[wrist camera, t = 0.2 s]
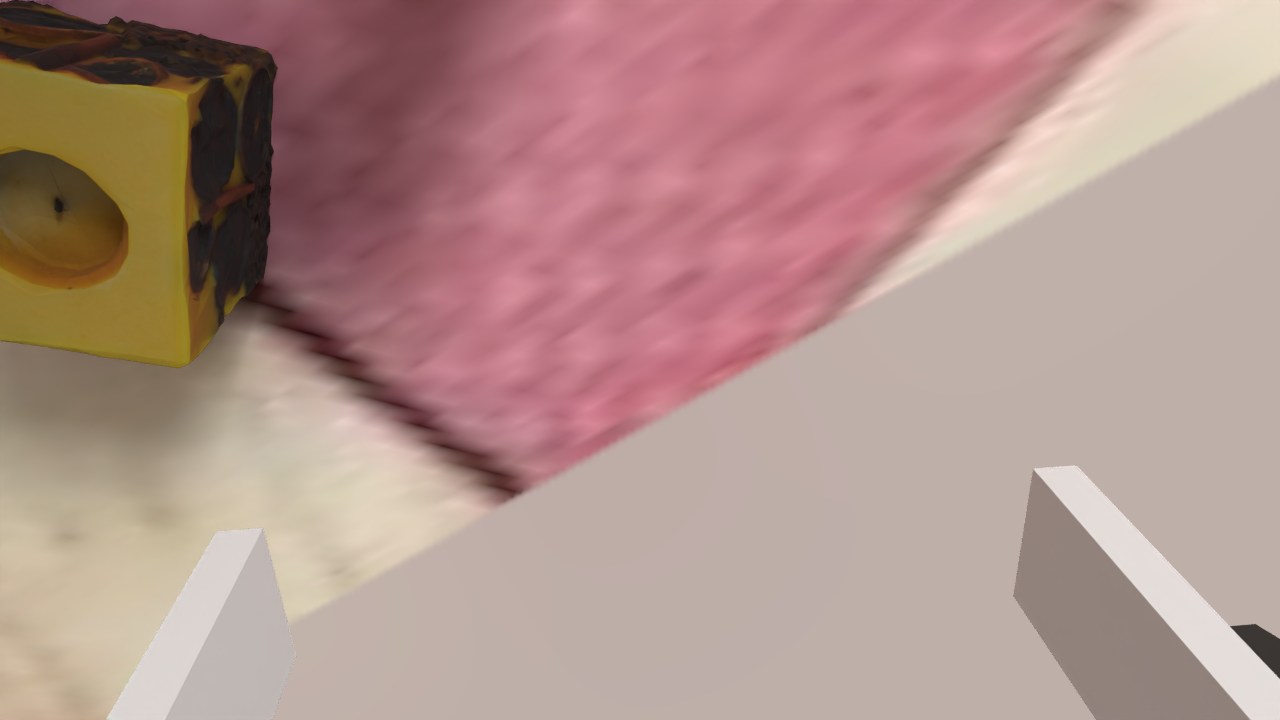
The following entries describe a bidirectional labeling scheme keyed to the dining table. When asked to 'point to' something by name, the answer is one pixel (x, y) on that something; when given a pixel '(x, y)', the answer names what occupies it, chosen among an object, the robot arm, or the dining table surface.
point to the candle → (128, 183)
